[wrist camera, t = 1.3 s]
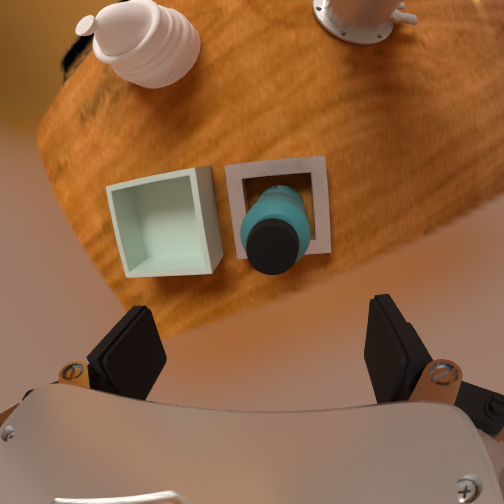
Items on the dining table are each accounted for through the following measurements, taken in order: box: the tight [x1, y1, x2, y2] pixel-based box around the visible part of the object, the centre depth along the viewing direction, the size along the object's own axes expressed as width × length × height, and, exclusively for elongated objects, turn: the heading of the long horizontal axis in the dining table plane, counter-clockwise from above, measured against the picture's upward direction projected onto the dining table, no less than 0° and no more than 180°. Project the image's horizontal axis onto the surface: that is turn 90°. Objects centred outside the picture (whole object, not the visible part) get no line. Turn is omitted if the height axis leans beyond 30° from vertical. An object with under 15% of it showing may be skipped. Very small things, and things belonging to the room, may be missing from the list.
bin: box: [106, 166, 224, 278], centre depth 38 cm, size 14×14×7 cm
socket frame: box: [225, 156, 331, 259], centre depth 37 cm, size 13×13×3 cm
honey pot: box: [76, 0, 201, 89], centre depth 24 cm, size 13×13×18 cm
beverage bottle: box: [240, 185, 311, 275], centre depth 29 cm, size 6×7×20 cm
